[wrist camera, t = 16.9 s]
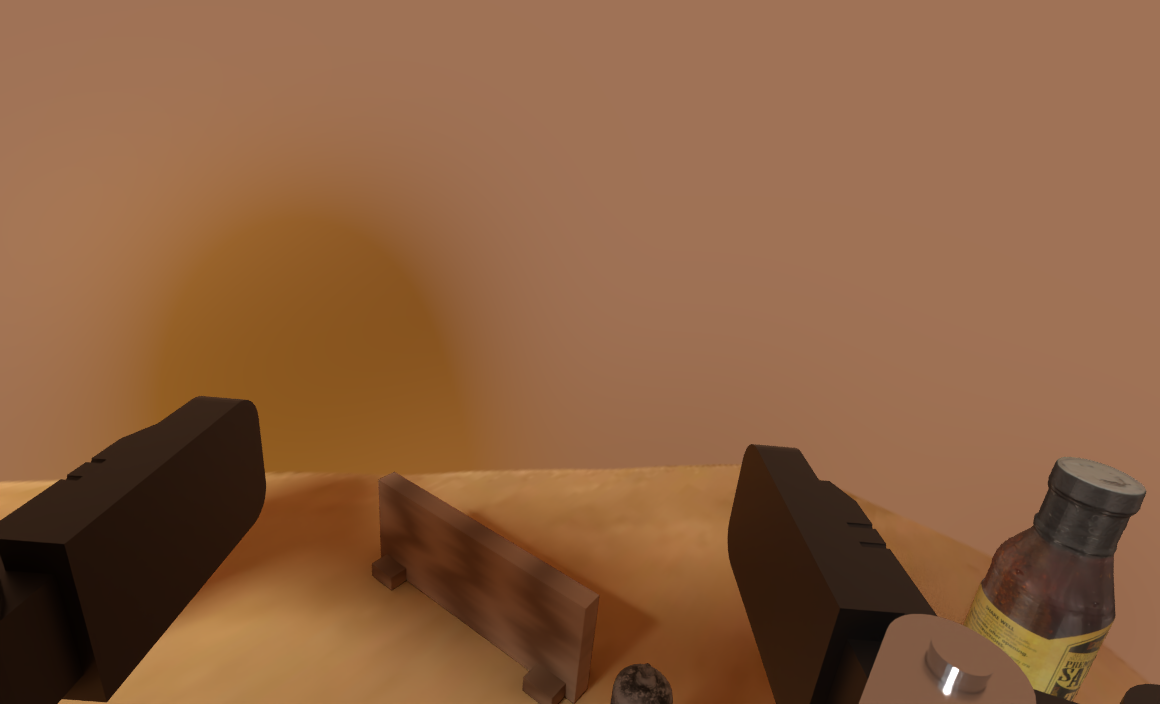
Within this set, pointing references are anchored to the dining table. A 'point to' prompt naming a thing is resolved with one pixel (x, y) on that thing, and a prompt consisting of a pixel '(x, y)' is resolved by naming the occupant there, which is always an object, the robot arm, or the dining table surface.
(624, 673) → the dark metal turned piece
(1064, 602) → the sauce bottle
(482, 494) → the dining table surface
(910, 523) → the dining table surface
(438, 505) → the walnut screen
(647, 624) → the dining table surface
